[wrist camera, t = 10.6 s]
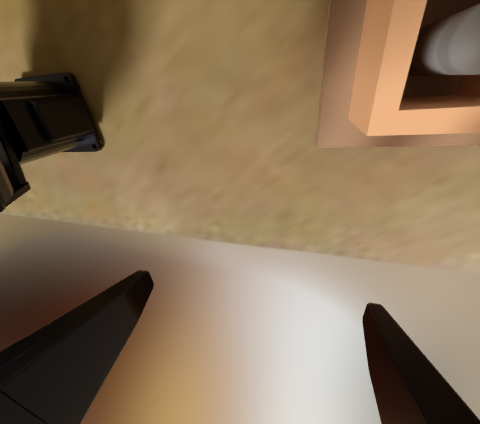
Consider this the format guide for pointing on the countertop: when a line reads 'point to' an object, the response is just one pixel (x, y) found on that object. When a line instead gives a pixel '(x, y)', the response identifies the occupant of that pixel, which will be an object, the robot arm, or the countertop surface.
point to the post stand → (419, 76)
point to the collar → (403, 79)
